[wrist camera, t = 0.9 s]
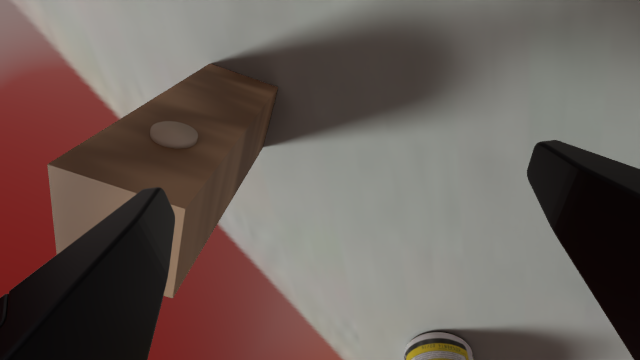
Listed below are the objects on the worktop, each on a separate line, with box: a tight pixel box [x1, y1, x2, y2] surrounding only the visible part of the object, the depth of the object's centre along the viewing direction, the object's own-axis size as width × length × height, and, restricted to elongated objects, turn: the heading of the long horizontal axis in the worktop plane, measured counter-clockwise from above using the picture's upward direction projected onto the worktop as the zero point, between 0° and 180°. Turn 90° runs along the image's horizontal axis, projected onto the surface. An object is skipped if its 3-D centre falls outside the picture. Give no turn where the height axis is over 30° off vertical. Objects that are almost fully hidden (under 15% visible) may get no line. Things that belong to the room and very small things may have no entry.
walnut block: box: [48, 64, 278, 298], centre depth 17 cm, size 4×4×12 cm
